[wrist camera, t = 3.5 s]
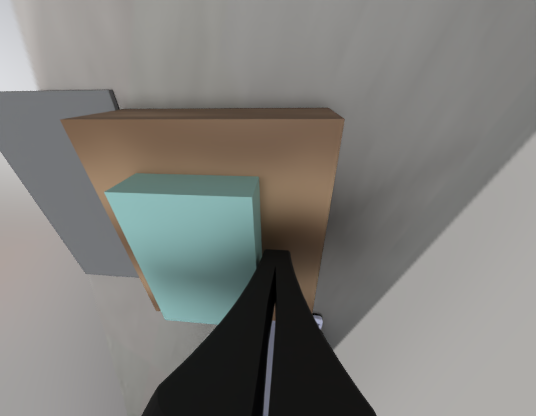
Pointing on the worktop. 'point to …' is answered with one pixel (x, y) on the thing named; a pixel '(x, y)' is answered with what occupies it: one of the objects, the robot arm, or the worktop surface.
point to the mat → (62, 172)
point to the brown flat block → (226, 166)
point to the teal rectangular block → (192, 239)
